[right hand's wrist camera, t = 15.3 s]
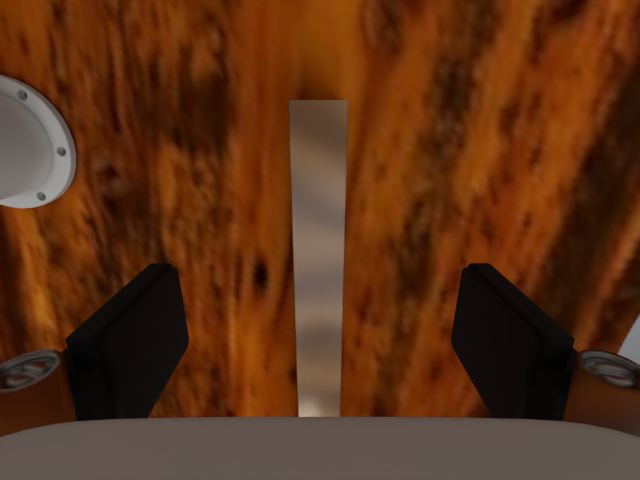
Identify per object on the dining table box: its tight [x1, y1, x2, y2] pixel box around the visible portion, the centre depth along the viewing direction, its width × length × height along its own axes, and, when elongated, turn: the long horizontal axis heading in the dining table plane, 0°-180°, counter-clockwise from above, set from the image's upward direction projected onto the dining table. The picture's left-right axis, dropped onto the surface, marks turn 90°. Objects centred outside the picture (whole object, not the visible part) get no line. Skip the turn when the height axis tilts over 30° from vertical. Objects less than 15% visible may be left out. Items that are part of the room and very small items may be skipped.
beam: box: [288, 100, 348, 417], centre depth 39 cm, size 59×4×7 cm, turn 0°
